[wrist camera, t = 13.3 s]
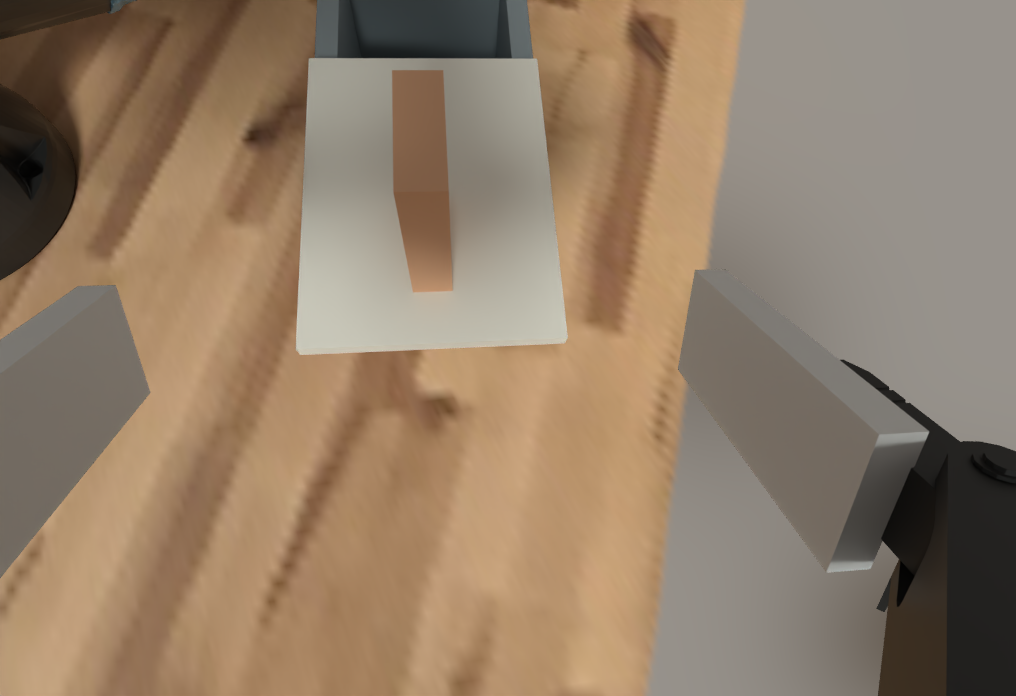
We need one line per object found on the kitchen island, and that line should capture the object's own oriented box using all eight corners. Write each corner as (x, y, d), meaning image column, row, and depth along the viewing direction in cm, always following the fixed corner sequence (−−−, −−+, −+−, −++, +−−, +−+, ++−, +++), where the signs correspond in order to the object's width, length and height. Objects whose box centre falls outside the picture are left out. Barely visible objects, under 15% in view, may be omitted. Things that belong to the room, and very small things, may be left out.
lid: (312, 70, 31) (258, -104, 23) (535, 70, 32) (560, -96, 24) (300, 354, 26) (224, 266, 18) (564, 343, 27) (609, 254, 19)
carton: (349, 63, 43) (319, -62, 34) (508, 63, 45) (520, -58, 36) (345, 255, 38) (310, 167, 29) (525, 250, 40) (544, 164, 31)
